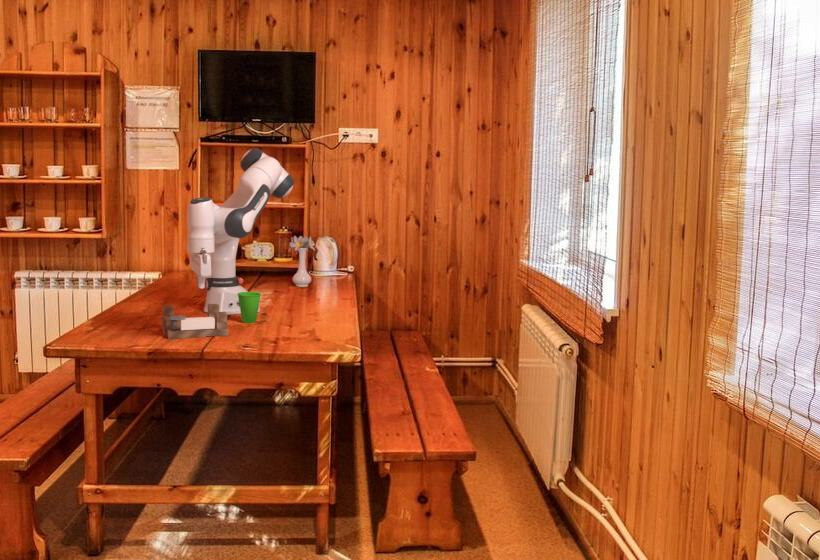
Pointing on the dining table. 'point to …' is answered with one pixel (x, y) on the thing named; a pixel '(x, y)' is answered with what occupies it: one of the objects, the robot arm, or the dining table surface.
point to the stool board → (174, 331)
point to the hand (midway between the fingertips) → (201, 287)
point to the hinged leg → (195, 322)
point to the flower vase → (302, 260)
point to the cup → (249, 306)
